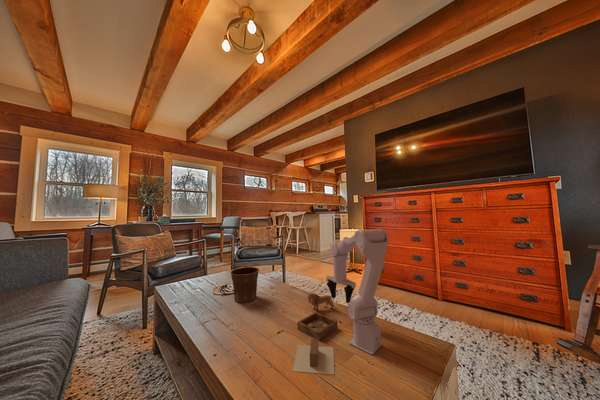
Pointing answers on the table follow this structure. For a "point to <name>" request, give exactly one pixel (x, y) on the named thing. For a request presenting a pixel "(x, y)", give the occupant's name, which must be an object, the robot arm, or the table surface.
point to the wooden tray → (317, 326)
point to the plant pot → (244, 284)
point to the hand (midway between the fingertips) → (340, 300)
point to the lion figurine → (319, 300)
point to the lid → (314, 359)
